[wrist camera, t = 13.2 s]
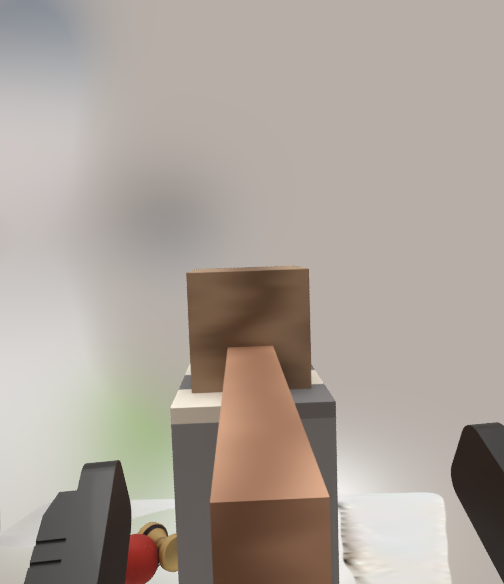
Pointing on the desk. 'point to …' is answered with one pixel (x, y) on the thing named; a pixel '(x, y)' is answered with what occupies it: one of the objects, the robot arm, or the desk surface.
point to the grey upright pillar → (200, 465)
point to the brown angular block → (259, 425)
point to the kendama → (150, 553)
